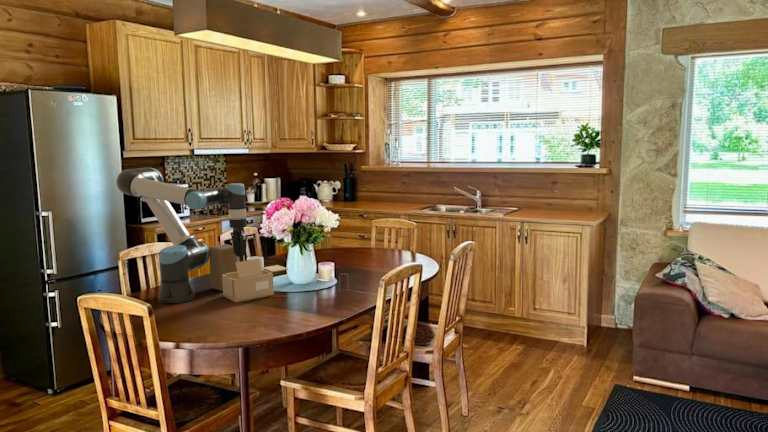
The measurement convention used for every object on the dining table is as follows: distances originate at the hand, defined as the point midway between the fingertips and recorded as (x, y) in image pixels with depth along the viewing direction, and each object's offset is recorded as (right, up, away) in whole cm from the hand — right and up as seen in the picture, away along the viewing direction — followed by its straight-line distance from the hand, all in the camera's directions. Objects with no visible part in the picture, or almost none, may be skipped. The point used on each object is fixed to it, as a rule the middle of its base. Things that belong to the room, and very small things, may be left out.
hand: (240, 270), depth 262 cm
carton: (+4, -11, 0) cm, 12 cm away
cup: (-1, -7, +32) cm, 33 cm away
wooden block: (-11, -10, +14) cm, 20 cm away
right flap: (+14, 0, +6) cm, 16 cm away
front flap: (+5, +1, -7) cm, 9 cm away
